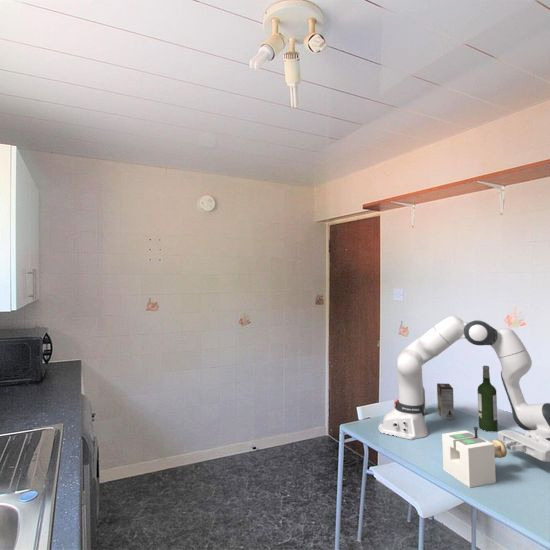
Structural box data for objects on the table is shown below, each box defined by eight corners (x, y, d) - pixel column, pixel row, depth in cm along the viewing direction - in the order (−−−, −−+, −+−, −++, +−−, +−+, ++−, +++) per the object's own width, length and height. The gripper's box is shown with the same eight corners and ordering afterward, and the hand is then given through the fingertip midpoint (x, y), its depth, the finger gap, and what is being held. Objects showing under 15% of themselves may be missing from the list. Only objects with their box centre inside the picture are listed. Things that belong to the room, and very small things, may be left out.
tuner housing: (467, 465, 141) (466, 429, 142) (495, 482, 129) (494, 443, 129) (443, 469, 138) (442, 433, 139) (469, 487, 126) (468, 447, 126)
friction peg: (493, 453, 140) (492, 420, 141) (507, 460, 135) (505, 426, 135) (466, 457, 137) (465, 424, 138) (479, 465, 131) (477, 430, 132)
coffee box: (437, 412, 199) (436, 383, 200) (450, 413, 198) (449, 383, 199) (441, 418, 190) (440, 387, 191) (454, 419, 189) (453, 388, 190)
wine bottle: (478, 424, 181) (475, 363, 182) (496, 427, 178) (494, 365, 179) (479, 430, 174) (477, 367, 175) (499, 433, 171) (496, 368, 171)
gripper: (513, 424, 152) (486, 428, 149) (563, 445, 132) (533, 450, 129) (513, 439, 152) (486, 444, 149) (563, 462, 132) (533, 468, 129)
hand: (508, 447), depth 139 cm, fingers closed
